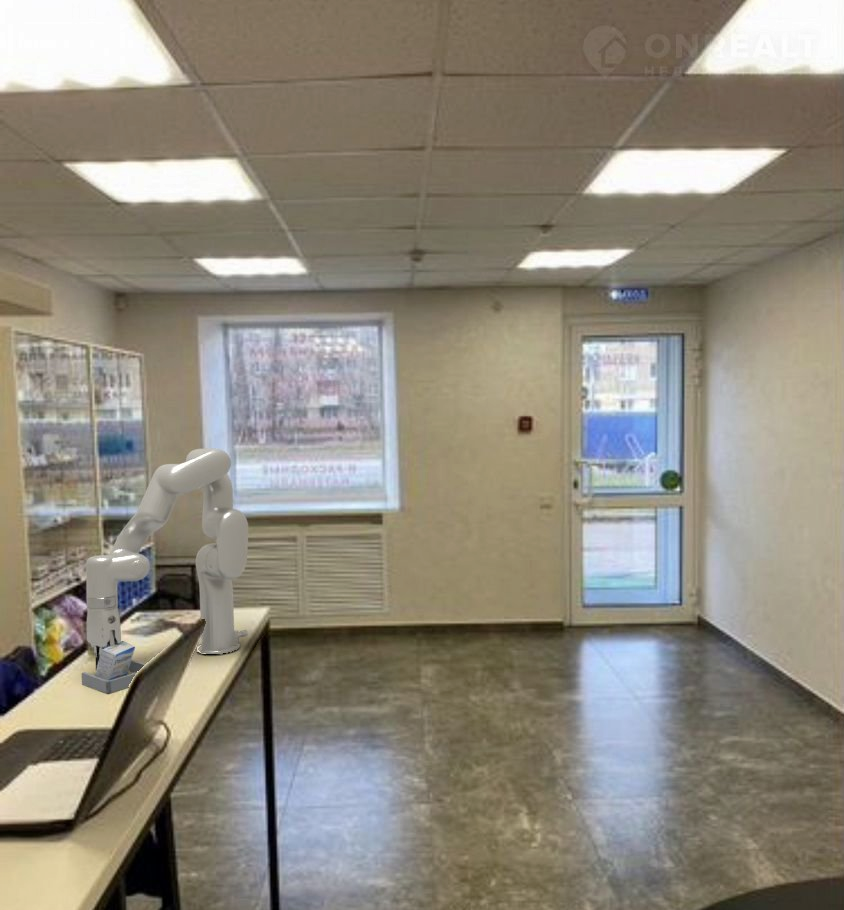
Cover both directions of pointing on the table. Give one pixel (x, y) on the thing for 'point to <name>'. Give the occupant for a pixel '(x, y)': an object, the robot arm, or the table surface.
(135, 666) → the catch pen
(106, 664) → the medicine box
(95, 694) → the table surface
